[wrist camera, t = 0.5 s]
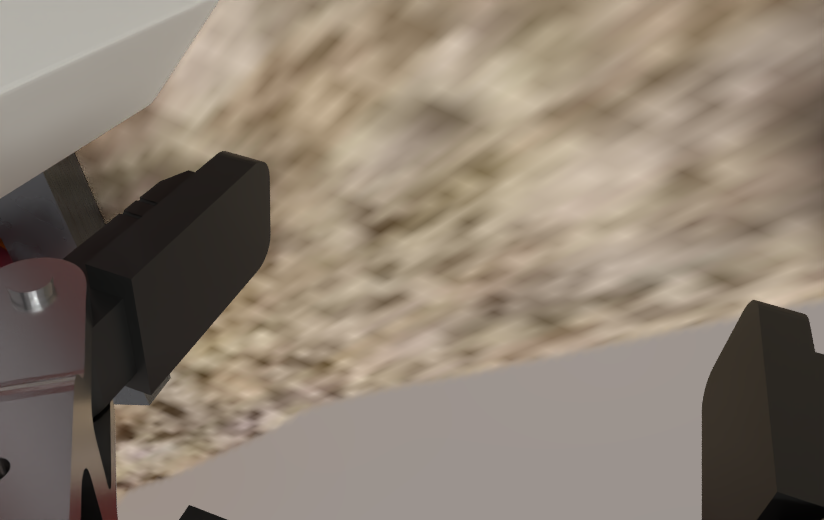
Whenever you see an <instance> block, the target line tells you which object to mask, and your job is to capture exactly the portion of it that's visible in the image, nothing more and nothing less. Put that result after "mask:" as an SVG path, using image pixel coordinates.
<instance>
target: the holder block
mask: <svg viewBox="0 0 824 520" xmlns="http://www.w3.org/2000/svg"><path fill="white" fill-rule="evenodd" d="M104 226H105V223H104V221H103V218H102V216H101V214H100V211H99V209H98V207H97V204H96V202H95V200H94V197H93V195H92V193H91V190H90V188H89V186H88V183H87V181H86V179H85V176H84V174H83V172H82V169H81V167H80V165H79V162H78V160H77V158H76V155H75V153H72V154H71V155H69V156H67V157H66V158H64V159H63V160H61V161H59V162H58V163H56V164H55V165H53V166H52V167H50V168H48V169H47V170H45V171H44V172H42V173H40V174H39V175H37V176H36V177H34V178H32V179H31V180H29V181H28V182H26V183H24V184H23V185H21V186H20V187H18V188H16V189H15V190H13V191H12V192H10V193H8V194H7V195H5V196H4V197H2V198H1V199H0V238H1V240H2V242H3V243H4V245H5V247H6V249H7V251H8V253H9V255H10V257H11V259H12V261H13V263H14V262H17V261H21V260H25V259H31V258H43V257H46V258H57V259H63V258H65V257H66V256H67V255H68V254H70V253H71V252H72V251H73V250H75V249H76V248H77V247H78V246H80V245H81V244H82V243H83V242H85V241H86V240H87V239H88V238H90V237H91V236H92V235H93V234H95V233H96V232H97V231H98V230H100V229H101V228H102V227H104ZM170 378H171V377H170V375H168V376H167V377H166V379H165V380H164V381H163V382H162V383H161V384H160V386H159V387H158V388H157V389H156V390H155V391H154V393H153V394H152V395H148V394H146V393H143V392H140V391H137V390H134V389H132V388H129V387H126V386H124V387H123V388H122V390H121V391H120V392H119V393H118V394H117V395H116V396H115V397H114V398H113V403H114V404H124V405H150V404H151V403H152V401H153V400H154V399H155V397H156V396H157V395H158V394H159V392H160V391H161V390H162V388H163V387H164V386H165V384H166V383H167V382H168V381H169V379H170Z"/></svg>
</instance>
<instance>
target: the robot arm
mask: <svg viewBox="0 0 824 520" xmlns="http://www.w3.org/2000/svg"><path fill="white" fill-rule="evenodd" d="M269 243H270V176H269V169H268V166H267V164H266V163H265V162H262V161H259V160H255V159H251V158H248V157H244V156H241V155H237V154H233V153H230V152H226V151H222V152H220V153H218V154H217V155H215V156H214V157H213V158H212V159H211V160H209V161H208V162H207V163H206V164H205V165H203V166H202V167H201V168H200V169H199V170H197V171H196V172H192V171H189V170H188V171H186V172H183V173H181V174H178V175H175V176H173V177H170V178H168V179H165V180H163V181H160V182H159V183H158V184H156V185H155V186H154V187H153V188H151V189H150V190H149V191H148V192H146V193H145V194H144V195H143V196H141V197H140V200H139V201H135V202H134V203H132V204H131V205H130V206H129V207H127V208H126V209H125V210H124V212H123V214H119V215H117V216H116V217H115V218H114V219H112V220H111V221H110V222H109V223H107V224H106V225H105V226H104V227H102V228H101V229H100V230H98V231H97V232H96V233H95V234H93V235H92V236H91V237H90V238H88V239H87V240H86V241H85V242H83V243H82V244H81V245H80V246H78V247H77V248H76V249H75V250H73V251H72V252H71V253H70V254H68V255H67V256H66V257H65V258H63V259H57V258H46V257H43V258H31V259H25V260H21V261H17V262H14V263H11V264H8V265H6V266H4V267H1V268H0V520H118V516H117V497H116V445H115V408H114V403H113V398H114V397H115V396H116V395H117V394H118V393H119V392H120V391H121V390H122V388H123V387H124V386H126V387H129V388H132V389H134V390H137V391H140V392H143V393H146V394H148V395H152V394H153V393H154V391H155V390H156V389H157V388H158V387H159V386H160V384H161V383H162V382H163V381H164V380H165V379H166V377H167V376H168V375H169V374H170V373H171V372H172V370H173V369H174V368H175V367H176V366H177V365H178V363H179V362H180V361H181V360H182V359H183V358H184V356H185V355H186V354H187V353H188V352H189V351H190V349H191V348H192V347H193V346H194V345H195V344H196V342H197V341H198V340H199V339H200V338H201V336H202V335H203V334H204V333H205V332H206V331H207V329H208V328H209V327H210V326H211V325H212V324H213V322H214V321H215V320H216V319H217V318H218V317H219V315H220V314H221V313H222V312H223V311H224V310H225V308H226V307H227V306H228V305H229V304H230V303H231V301H232V300H233V299H234V298H235V297H236V296H237V294H238V293H239V292H240V291H241V290H242V289H243V287H244V286H245V285H246V284H247V283H248V281H249V280H250V279H251V278H252V277H253V276H254V274H255V273H256V272H257V271H258V270H259V268H260V267H261V265H262V264H263V262H264V259H265V257H266V254H267V252H268V248H269ZM179 520H227V519H224V518H221V517H219V516H216V515H214V514H211V513H208V512H206V511H203V510H201V509H198V508H196V507H193V506H190V505H189V506H188V508H187V509H186V511H185V512H184V513H183V515H182V516H181V518H180V519H179ZM702 520H824V354H820V353H816V352H815V349H814V344H813V338H812V333H811V328H810V323H809V319H808V317H807V315H805V314H803V313H799V312H795V311H792V310H788V309H785V308H781V307H778V306H774V305H770V304H767V303H763V302H760V301H756V300H752V301H751V302H750V303H749V304H748V305H747V306H746V308H745V309H744V311H743V313H742V315H741V316H740V318H739V320H738V322H737V324H736V326H735V328H734V330H733V331H732V333H731V335H730V337H729V339H728V341H727V343H726V344H725V346H724V348H723V350H722V352H721V354H720V356H719V358H718V359H717V361H716V363H715V365H714V367H713V369H712V371H711V373H710V376H709V378H708V381H707V384H706V388H705V392H704V396H703V403H702Z"/></svg>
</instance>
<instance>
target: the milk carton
mask: <svg viewBox="0 0 824 520" xmlns="http://www.w3.org/2000/svg"><path fill="white" fill-rule="evenodd" d="M218 1H219V0H0V199H1V198H2V197H4V196H5V195H7V194H8V193H10V192H12V191H13V190H15V189H16V188H18V187H20V186H21V185H23V184H24V183H26V182H28V181H29V180H31V179H32V178H34V177H36V176H37V175H39V174H40V173H42V172H44V171H45V170H47V169H48V168H50V167H52V166H53V165H55V164H56V163H58V162H59V161H61V160H63V159H64V158H66V157H67V156H69V155H71V154H72V153H74V152H75V151H77V150H79V149H80V148H82V147H83V146H85V145H87V144H88V143H90V142H91V141H93V140H95V139H96V138H98V137H99V136H101V135H102V134H104V133H106V132H107V131H109V130H110V129H112V128H114V127H115V126H117V125H118V124H120V123H122V122H123V121H125V120H126V119H128V118H130V117H131V116H133V115H134V114H136V113H138V112H139V111H141V110H142V109H144V108H145V107H147V106H149V105H150V104H151V103H152V102H153V101H154V99H155V98H156V96H157V95H158V93H159V92H160V90H161V89H162V87H163V86H164V84H165V83H166V81H167V80H168V78H169V77H170V75H171V74H172V72H173V71H174V69H175V68H176V66H177V64H178V63H179V61H180V60H181V58H182V57H183V55H184V54H185V52H186V51H187V49H188V48H189V46H190V45H191V43H192V42H193V40H194V38H195V37H196V35H197V34H198V32H199V31H200V29H201V28H202V26H203V25H204V23H205V22H206V20H207V19H208V17H209V16H210V14H211V12H212V11H213V9H214V8H215V6H216V5H217V3H218Z"/></svg>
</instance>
